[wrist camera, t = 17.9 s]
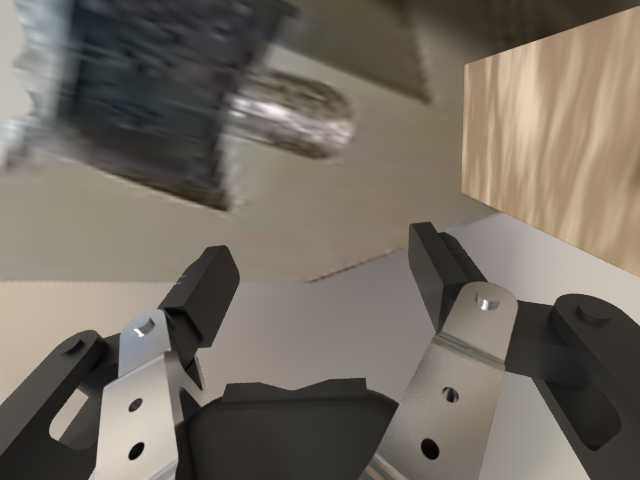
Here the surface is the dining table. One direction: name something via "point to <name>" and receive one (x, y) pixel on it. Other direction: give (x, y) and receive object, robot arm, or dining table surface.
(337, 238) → the dining table surface
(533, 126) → the notched wooden tower
